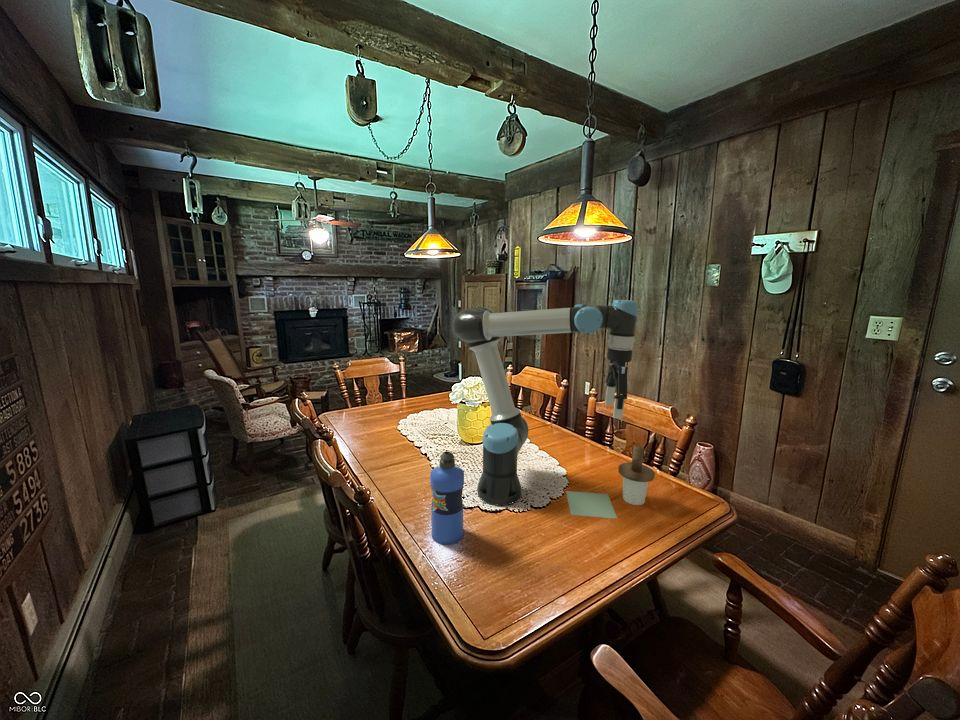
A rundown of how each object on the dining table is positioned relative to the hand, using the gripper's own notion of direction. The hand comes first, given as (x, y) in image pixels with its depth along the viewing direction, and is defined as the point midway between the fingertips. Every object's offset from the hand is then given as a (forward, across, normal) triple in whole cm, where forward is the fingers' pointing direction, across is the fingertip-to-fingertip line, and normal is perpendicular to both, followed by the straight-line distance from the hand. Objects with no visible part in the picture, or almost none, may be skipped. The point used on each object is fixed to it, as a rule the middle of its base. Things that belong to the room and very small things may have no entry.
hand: (613, 411), depth 124 cm
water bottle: (+31, -31, +49) cm, 66 cm away
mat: (+30, -9, +6) cm, 32 cm away
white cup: (+30, -4, -9) cm, 31 cm away
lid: (+19, -4, -9) cm, 22 cm away
